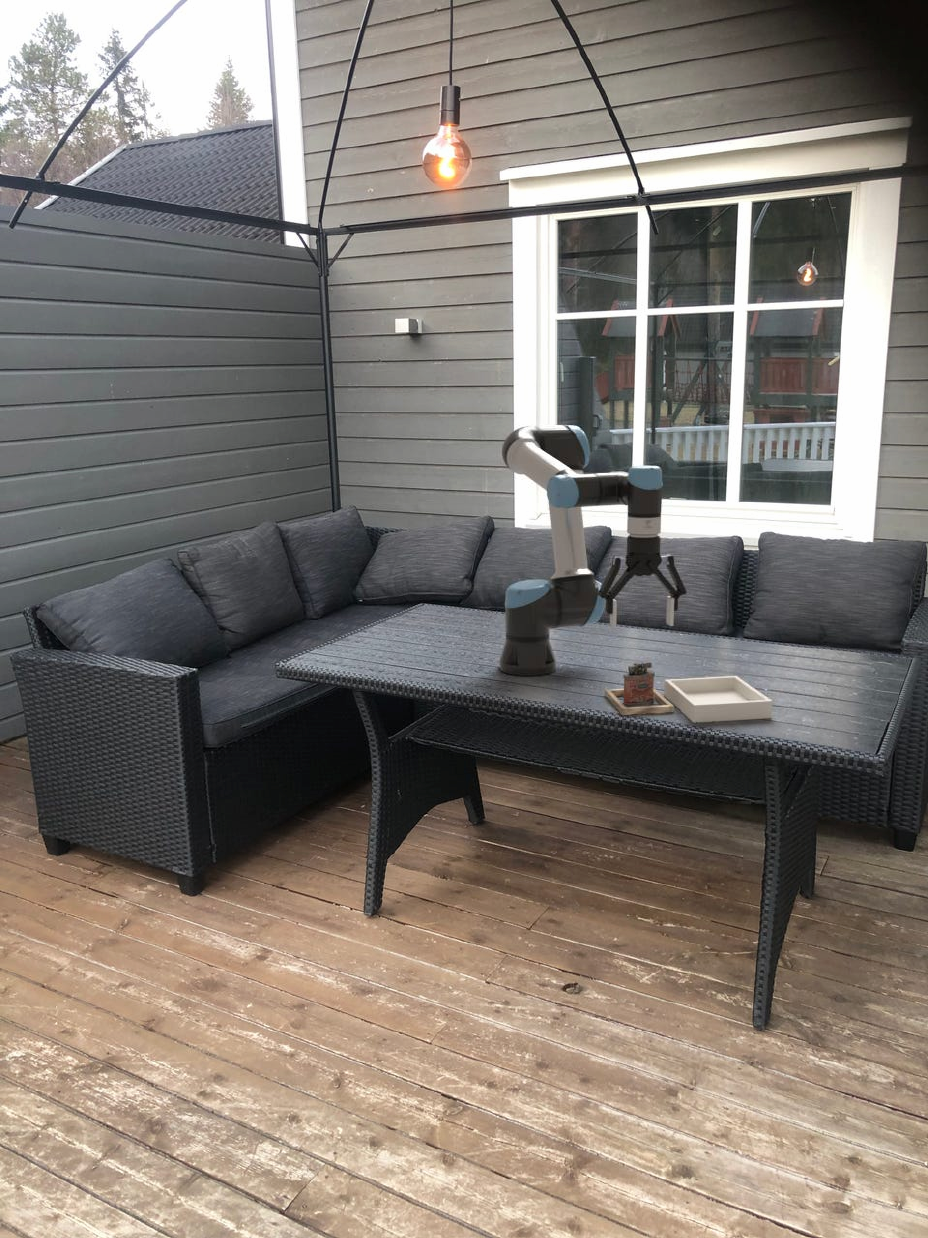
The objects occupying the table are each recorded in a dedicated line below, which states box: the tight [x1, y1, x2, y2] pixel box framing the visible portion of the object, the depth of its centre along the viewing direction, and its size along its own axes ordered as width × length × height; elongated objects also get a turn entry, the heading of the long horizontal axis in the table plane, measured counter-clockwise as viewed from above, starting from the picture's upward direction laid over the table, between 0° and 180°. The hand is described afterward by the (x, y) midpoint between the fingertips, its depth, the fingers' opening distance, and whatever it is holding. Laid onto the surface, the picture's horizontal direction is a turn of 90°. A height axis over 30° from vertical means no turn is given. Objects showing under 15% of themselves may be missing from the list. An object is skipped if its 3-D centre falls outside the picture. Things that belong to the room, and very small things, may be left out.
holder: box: [604, 687, 675, 716], centre depth 227 cm, size 12×15×2 cm
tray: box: [663, 675, 773, 724], centre depth 224 cm, size 18×20×4 cm
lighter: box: [622, 661, 656, 707], centre depth 226 cm, size 8×3×10 cm, turn 114°
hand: (641, 626), depth 223 cm, fingers open, 13 cm apart
